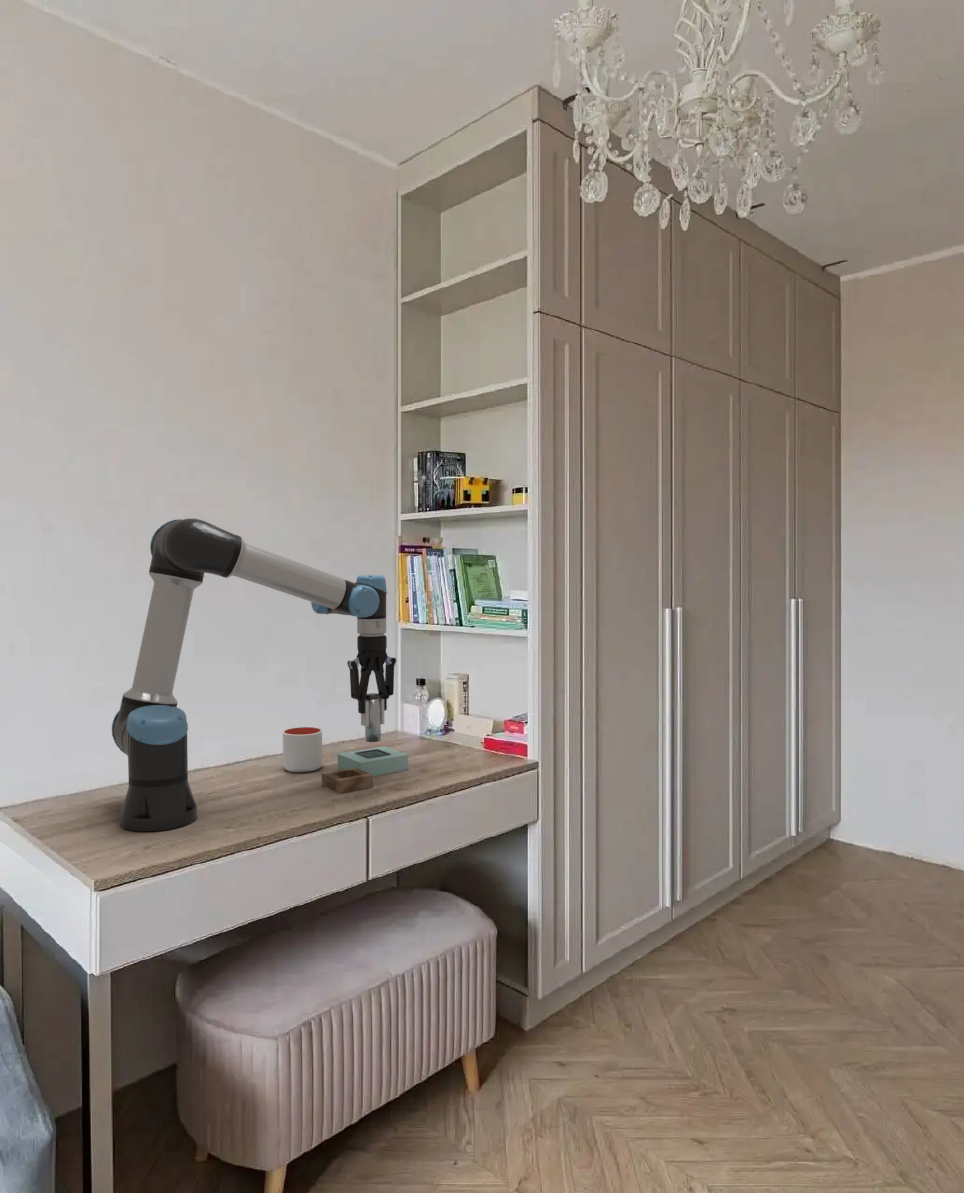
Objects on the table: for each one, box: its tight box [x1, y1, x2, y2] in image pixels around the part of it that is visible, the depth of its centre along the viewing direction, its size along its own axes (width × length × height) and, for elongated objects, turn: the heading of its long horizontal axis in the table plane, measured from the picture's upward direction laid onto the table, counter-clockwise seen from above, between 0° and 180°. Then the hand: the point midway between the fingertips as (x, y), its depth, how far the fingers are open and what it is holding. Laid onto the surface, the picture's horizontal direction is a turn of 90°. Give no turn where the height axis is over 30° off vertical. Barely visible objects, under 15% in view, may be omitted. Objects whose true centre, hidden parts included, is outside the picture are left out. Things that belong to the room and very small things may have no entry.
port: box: [337, 746, 409, 777], centre depth 219 cm, size 14×12×4 cm
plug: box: [364, 692, 382, 743], centre depth 218 cm, size 4×4×12 cm
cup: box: [282, 726, 323, 773], centre depth 219 cm, size 10×10×10 cm
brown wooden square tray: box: [321, 767, 374, 794], centre depth 203 cm, size 9×9×3 cm
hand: (372, 724), depth 218 cm, fingers closed on plug, 4 cm apart
